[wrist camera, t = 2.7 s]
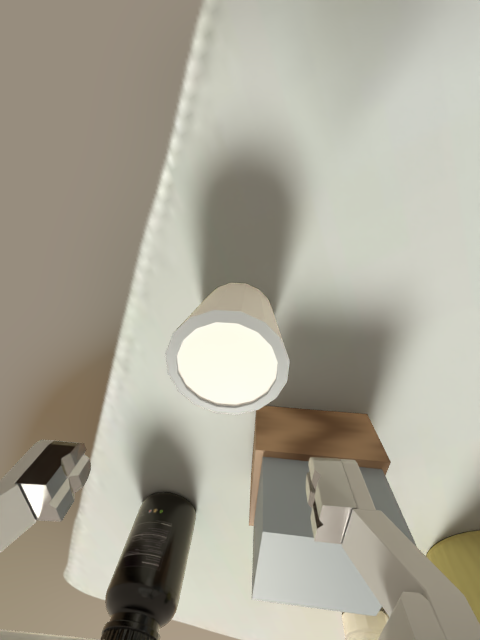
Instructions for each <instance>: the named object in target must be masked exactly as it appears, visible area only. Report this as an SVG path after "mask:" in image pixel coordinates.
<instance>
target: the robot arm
mask: <svg viewBox="0 0 480 640" xmlns="http://www.w3.org/2000/svg"><path fill="white" fill-rule="evenodd" d="M85 451H86V447H85V445H84V444H83V443H74V442H63V441H51V440H40V441H39V442H37V443H35V444H34V445H33V446H32V447H31V449H30V450H29V451H28V452H27V453H26V454H25V455H24V456H23V457H22V458H21V459H20V460H19V461H18V462H17V463H16V464H15V466H13V468H12V469H11V470H10V471H9V472H8V473H7V474H6V475H5V476H4V477H3V478H2V479H1V480H0V552H2V551H3V550H4V549H5V548H6V547H7V546H9V545H10V544H11V543H12V542H13V541H14V540H16V539H17V538H18V537H19V536H20V535H21V534H23V533H24V532H25V531H26V530H27V529H29V528H30V527H31V526H32V525H33V524H34V523H36V520H41V521H62V520H63V518H64V516H65V515H66V513H67V512H68V510H69V508H70V507H71V505H72V503H73V502H74V493H76V492H77V491H78V490H80V489H81V488H82V487H83V486H84V484H85V482H86V481H87V479H88V476H89V473H90V470H91V463H90V459H89V458H88V457H87V456H86V455H84V453H85ZM308 465H309V472H308V473H307V475H306V495H307V502H308V505H309V506H310V507H311V508H312V512H311V517H310V519H311V525H312V531H313V536H314V541H315V542H324V543H333V544H342V548H343V549H344V550H345V552H346V553H347V555H348V556H349V558H350V559H351V561H352V562H353V564H354V565H355V567H356V568H357V570H358V571H359V573H360V574H361V576H362V577H363V579H364V580H365V582H366V583H367V585H368V586H369V588H370V589H371V591H372V592H373V594H374V595H375V597H376V598H377V600H378V601H379V603H380V604H381V606H382V607H383V609H384V610H385V611H386V613H387V614H388V616H389V619H388V621H387V623H386V625H385V627H384V629H383V631H382V633H381V634H380V636H379V638H378V640H480V624H479V622H478V620H477V618H476V616H475V614H474V613H473V611H472V609H471V607H470V605H469V603H468V601H467V599H466V597H465V596H464V595H463V594H462V593H461V592H460V590H459V589H458V588H457V587H456V586H455V585H454V584H453V583H452V582H451V581H450V580H449V579H448V578H447V577H446V576H445V575H444V574H443V573H442V572H441V571H440V570H439V569H438V568H437V567H436V566H435V565H434V564H433V563H432V562H431V561H430V560H429V559H428V558H427V557H426V556H425V555H424V554H423V553H422V552H421V551H420V550H419V549H418V548H417V547H416V546H415V545H414V544H413V543H412V542H411V541H410V540H409V539H408V538H407V537H406V536H405V535H404V534H403V533H402V532H401V531H400V530H399V529H398V528H397V527H396V526H395V525H394V524H393V523H392V521H391V520H390V519H389V518H388V517H387V516H386V515H385V514H384V513H383V512H382V511H379V510H376V509H375V506H374V504H373V501H372V499H371V496H370V494H369V491H368V489H367V486H366V484H365V481H364V479H363V476H362V474H361V471H360V469H359V466H358V464H357V462H356V461H355V460H349V459H338V458H318V457H310V459H309V463H308ZM0 640H99V639H87V638H79V637H69V636H59V635H49V634H39V633H29V632H19V631H10V630H0Z"/></svg>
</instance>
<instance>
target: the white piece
mask: <svg viewBox="0 0 480 640" xmlns="http://www.w3.org/2000/svg"><path fill="white" fill-rule="evenodd" d="M166 362H167V372H168V374H169V376H170V378H171V380H172V381H173V383H174V385H175V387H176V388H177V390H178V391H179V392H180V393H181V394H182V395H184V396H185V397H186V398H187V399H188V400H190V401H191V402H192V403H193V404H194V405H197V406H199V407H202V408H204V409H207V410H209V411H212V412H214V413H223V414H235V415H238V414H242V413H247V412H251V411H255V410H259V409H260V408H262V407H263V406H265V405H267V404H268V403H270V402H271V401H273V400H274V399H276V398H277V396H278V395H279V393H280V392H281V390H282V389H283V387H284V386H285V384H286V383H287V380H288V372H289V364H290V360H289V357H288V354H287V351H286V348H285V345H284V343H283V340H282V337H281V334H280V331H279V328H278V325H277V322H276V319H275V316H274V313H273V310H272V308H271V305H270V302H269V300H268V298H267V297H266V296H265V295H264V294H263V293H262V292H261V291H260V290H259V289H257V288H255V287H253V286H251V285H248V284H246V283H228V284H226V285H223V286H220V287H217V288H216V289H215V290H214V291H213V292H212V293H211V294H210V295H209V296H208V297H207V298H206V299H205V300H204V301H203V302H202V303H201V304H200V305H199V306H198V307H197V308H196V309H195V310H194V311H193V313H192V314H191V315H190V316H189V317H188V318H187V319H186V320H185V321H184V322H183V323H182V324H181V325H180V326H179V327H178V328H177V330H176V331H175V332H174V333H173V334H172V337H171V340H170V342H169V345H168V348H167V350H166Z"/></svg>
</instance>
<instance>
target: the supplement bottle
mask: <svg viewBox="0 0 480 640" xmlns="http://www.w3.org/2000/svg"><path fill="white" fill-rule="evenodd" d="M195 519H196V513H195V509H194V507H193V505H192V504H191V503H190V502H189V501H188V500H187V499H185V498H184V497H182V496H179V495H177V494H173V493H167V492H161V493H155V494H152V495H150V496H149V497H147V498H146V499H145V500H144V501H143V503H142V505H141V507H140V509H139V512H138V514H137V517H136V519H135V522H134V524H133V527H132V529H131V532H130V534H129V537H128V539H127V542H126V544H125V547H124V549H123V552H122V554H121V557H120V559H119V562H118V564H117V567H116V569H115V572H114V574H113V577H112V579H111V582H110V584H109V587H108V590H107V593H106V600H105V603H106V608H107V612H108V614H109V616H110V617H111V619H110V621H109V622H107V623H106V624H105V626H104V628H103V631H102V637H101V639H100V640H160V635H159V634H158V632H159V629H160V628H162V627H164V626H165V625H166V624H168V623H169V622H170V621H171V619H172V618H173V616H174V614H175V613H176V610H177V606H178V602H179V598H180V593H181V588H182V583H183V578H184V574H185V569H186V564H187V559H188V554H189V549H190V545H191V540H192V535H193V530H194V525H195Z"/></svg>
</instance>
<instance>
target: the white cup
mask: <svg viewBox="0 0 480 640" xmlns="http://www.w3.org/2000/svg"><path fill="white" fill-rule="evenodd" d="M388 619H389V618H388V616H387V615H386V614H385V613H384V612H383V611H381V610H380V611H379V612H378V614H377V615H376V616H370V615H362V614H355V613H347V612H344V613H343V614H342V621H343V627H344V633H345V640H378V638H379V636H380V634H381V633H382V631H383V629H384V627H385V625H386V623H387V621H388Z"/></svg>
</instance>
